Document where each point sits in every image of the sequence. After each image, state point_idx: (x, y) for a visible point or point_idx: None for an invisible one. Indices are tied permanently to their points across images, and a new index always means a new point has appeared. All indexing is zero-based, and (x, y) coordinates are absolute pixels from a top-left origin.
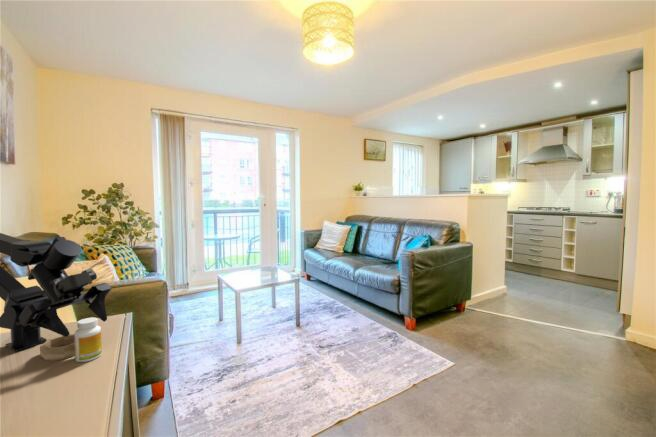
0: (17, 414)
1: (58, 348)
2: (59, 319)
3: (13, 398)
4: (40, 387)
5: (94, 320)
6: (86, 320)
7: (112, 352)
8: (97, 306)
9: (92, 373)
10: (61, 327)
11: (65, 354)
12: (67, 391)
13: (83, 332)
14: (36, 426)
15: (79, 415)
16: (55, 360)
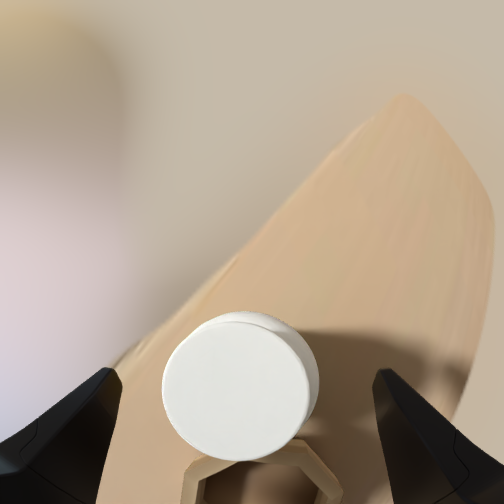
0: (482, 238)
1: (321, 467)
2: (447, 459)
3: (474, 318)
4: (433, 312)
5: (212, 334)
6: (239, 401)
7: (197, 314)
8: (58, 474)
9: (329, 241)
10: (430, 405)
11: (301, 442)
12: (408, 219)
13: (298, 352)
14: (466, 170)
15: (417, 129)
16: (319, 457)
